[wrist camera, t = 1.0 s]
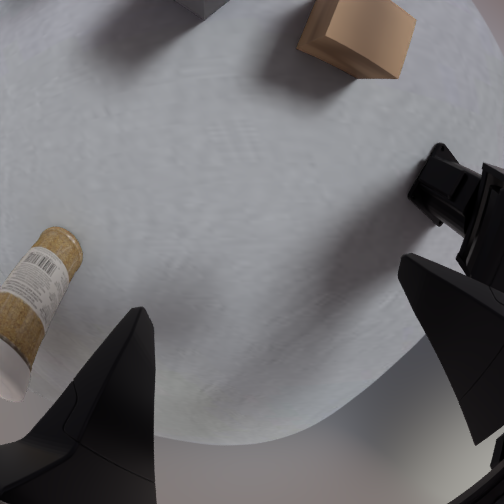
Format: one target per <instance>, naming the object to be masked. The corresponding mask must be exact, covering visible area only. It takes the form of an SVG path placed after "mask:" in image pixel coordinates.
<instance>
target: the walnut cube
mask: <svg viewBox="0 0 504 504" xmlns="http://www.w3.org/2000/svg"><path fill="white" fill-rule="evenodd" d="M415 24H416V19H415V18H413V17H412V16H411V15H410V14H408V13H407V12H406V11H404V10H403V9H402V8H400V7H399V6H398V5H396V4H395V3H394V2H392V1H391V0H316V2H315V4H314V6H313V9H312V11H311V13H310V16H309V18H308V21H307V23H306V25H305V28H304V30H303V33H302V35H301V38H300V40H299V43H298V45H297V48H296V49H298V50H300V51H303V52H305V53H307V54H309V55H312V56H314V57H316V58H318V59H320V60H322V61H325V62H327V63H329V64H331V65H333V66H335V67H337V68H338V69H340V70H342V71H344V72H346V73H348V74H350V75H352V76H353V77H355V78H357V79H398V78H399V75H400V72H401V69H402V66H403V63H404V60H405V57H406V54H407V51H408V48H409V44H410V41H411V38H412V34H413V31H414V27H415Z"/></svg>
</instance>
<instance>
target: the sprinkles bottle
mask: <svg viewBox="0 0 504 504" xmlns="http://www.w3.org/2000/svg"><path fill="white" fill-rule="evenodd" d="M82 256H83V253H82V249H81V247H80V244H79V242H78V241H77V239H76V238H75V236H74V235H73V234H72V233H70V232H69V231H67V230H65V229H63V228H60V227H51V228H48V229H46V230H45V231H43V233H42V234H41V235H40V238H39V239H38V241H37V242H36V243H35V244H34V245H33V246H32V247H31V249H30V250H29V251H28V252H27V253H26V255H25V256H24V257H23V258H22V259H21V260H20V262H19V263H18V264H17V265H16V267H15V268H14V269H13V271H12V272H11V273H10V275H9V276H8V277H7V279H6V281H5V282H4V283H3V285H2V286H1V288H0V397H1V398H3V399H5V400H8V401H11V402H21V401H22V400H23V399H24V397H25V394H26V391H27V389H28V385H29V382H30V379H31V370H32V364H33V362H34V359H35V356H36V354H37V351H38V348H39V346H40V344H41V341H42V340H43V338H44V336H45V334H46V332H47V329H48V327H49V325H50V322H51V320H52V318H53V316H54V314H55V312H56V310H57V308H58V306H59V304H60V302H61V300H62V298H63V296H64V294H65V292H66V290H67V288H68V285H69V282H70V281H71V279H72V277H73V275H74V273H75V272H76V271H77V270H78V268H79V267H80V265H81V263H82Z"/></svg>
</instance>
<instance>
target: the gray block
mask: <svg viewBox="0 0 504 504" xmlns="http://www.w3.org/2000/svg"><path fill="white" fill-rule="evenodd" d="M174 1H176V2H178V3H179V4H181V5H182V6H184V7H185V8H187V9H188V10H190V11H191V12H193V13H194V14H196V15H197V16H198V17H200V18H201V19H203V20H204V21H205V20H206V19H207V18H208V17H209V16H210V15H212V14H213V13H214V12H215V11H217V10H218V9H219V8H220V7H221V6H223V5H224V4H225V3H227V2H228V1H229V0H174Z"/></svg>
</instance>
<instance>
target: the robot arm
mask: <svg viewBox="0 0 504 504" xmlns="http://www.w3.org/2000/svg"><path fill="white" fill-rule="evenodd" d="M441 147H442V148H441ZM482 169H483V171H482V175H480V174H478V173H476V172H475V171H473V170H470V169H468V168H466V167H464V166H462V165H460V164H459V163H458V161H457V160H456V159H455V157H454V156H453V155H452V153H451V152H450V151H449V149H448V148H447V147H446V145H445V144H443V143H438V144H437V146H436V148H435V150H434V151H433V153H432V155H431V157H430V158H429V160H428V162H427V164H426V165H425V167H424V169H423V170H422V172H421V174H420V175H419V177H418V179H417V180H416V182H415V184H414V185H413V187H412V189H411V190H410V192H409V194H408V199H409V200H410V201H411V202H412V203H414V204H415V205H416V206H417V207H418V208H419V209H420V210H421V211H422V212H423V213H424V214H425V215H426V216H428V217H429V218H430V219H431V220H432V221H433V222H434V223H435V224H436V225H437V226H439V227H440V226H441V225H442V224H443V223H445V224H446V225H448V226H449V227H450V228H452V229H453V230H454V231H456V232H457V233H458V234H459V235H461V236H462V237H463V238H464V240H463V243H462V245H461V248H460V251H459V253H458V254H457V256H456V260H457V262H458V263H459V265H460V266H461V268H462V269H463V271H464V272H465V274H466V276H465V275H463V274H461V273H459V272H456V271H454V270H452V269H449V268H447V267H445V266H442V265H440V264H438V263H435V262H433V261H431V260H428V259H426V258H423V257H421V256H418V255H416V254H413V253H409V254H405V255H403V256H402V257H401V261H400V265H399V270H398V279H399V281H400V283H401V286H402V288H403V290H404V292H405V294H406V296H407V298H408V300H409V303H410V305H411V307H412V309H413V311H414V313H415V315H416V317H417V319H418V320H419V322H420V324H421V326H422V328H423V329H424V331H425V333H426V335H427V337H428V339H429V341H430V342H431V344H432V346H433V348H434V350H435V352H436V354H437V356H438V358H439V360H440V362H441V364H442V366H443V368H444V370H445V373H446V375H447V377H448V379H449V381H450V383H451V386H452V388H453V390H454V392H455V395H456V397H457V399H458V401H459V405H460V406H461V409H462V411H463V414H464V417H465V420H466V422H467V425H468V428H469V430H470V433H471V436H472V439H473V442H474V444H475V446H476V445H478V444H479V443H481V442H482V441H483V440H485V439H486V438H488V437H489V436H490V435H492V434H493V433H494V432H496V431H497V430H498V429H500V428H501V427H502V426H503V425H504V169H502V168H499V167H496V166H493V165H490V164H487V163H483V165H482ZM413 195H414V196H413ZM155 370H156V369H155V346H154V327H153V324H152V322H151V320H150V318H149V316H148V314H147V312H146V310H145V308H144V307H135V308H132V309H131V310H130V311H129V312H128V313H127V314H126V315H125V316H124V318H123V319H122V320H121V321H120V322H119V324H118V325H117V326H116V327H115V328H114V329H113V331H112V332H111V333H110V334H109V335H108V337H107V338H106V339H105V340H104V342H103V343H102V344H101V345H100V346H99V348H98V349H97V350H96V351H95V353H94V354H93V355H92V356H91V358H90V359H89V360H88V361H87V363H86V364H85V365H84V366H83V368H82V369H81V370H80V371H79V373H78V374H77V375H76V377H75V378H74V379H73V381H72V382H71V383H70V384H69V386H68V387H67V388H66V390H65V391H64V392H63V393H62V395H61V396H60V397H59V398H58V400H57V401H56V402H55V403H54V405H53V406H52V407H51V408H50V409H49V410H48V411H47V413H46V414H45V415H44V416H43V417H42V418H41V419H40V421H39V422H38V423H37V424H36V425H35V426H34V427H33V429H32V430H31V431H30V432H29V433H28V434H27V435H26V436H25V437H24V438H22V439H21V440H18V441H16V442H12V443H8V444H4V445H0V504H157V503H156V488H155V483H154V482H155V473H154V393H155ZM490 467H491V469H492V470H491V471H490V472H489V473H488V474H487V475H485V476H484V477H483V478H482V479H481V480H479V481H478V482H477V483H476V484H474V485H473V486H472V487H470V488H469V489H468V490H466V491H465V492H464V493H462V494H461V495H460V496H458V497H457V498H455V499H454V500H452V501H451V502H449V503H448V504H504V433H503V434H502V435H501V436H500V437H499V438H497V439H496V444H495V448H494V453H493V457H492V461H491V464H490Z"/></svg>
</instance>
